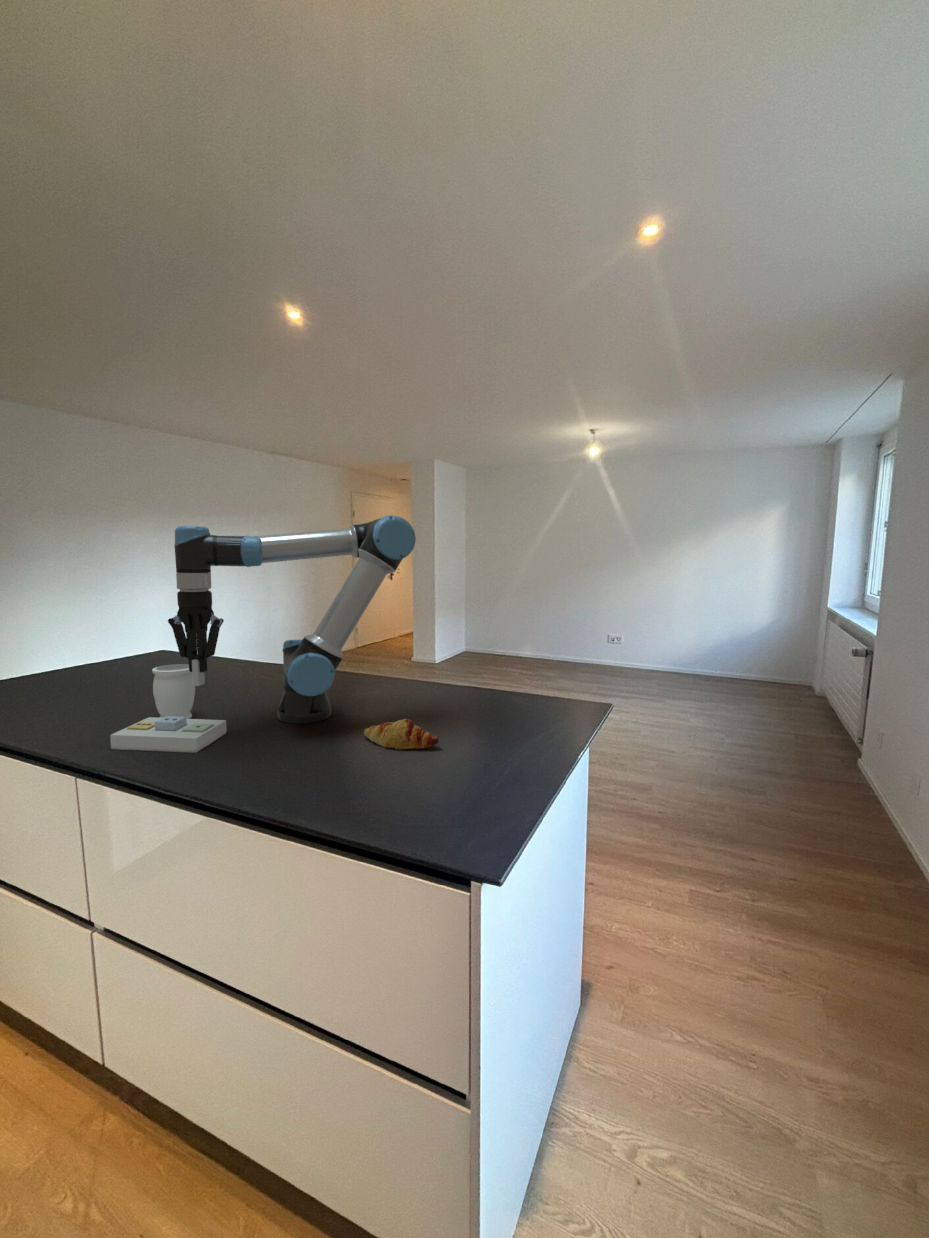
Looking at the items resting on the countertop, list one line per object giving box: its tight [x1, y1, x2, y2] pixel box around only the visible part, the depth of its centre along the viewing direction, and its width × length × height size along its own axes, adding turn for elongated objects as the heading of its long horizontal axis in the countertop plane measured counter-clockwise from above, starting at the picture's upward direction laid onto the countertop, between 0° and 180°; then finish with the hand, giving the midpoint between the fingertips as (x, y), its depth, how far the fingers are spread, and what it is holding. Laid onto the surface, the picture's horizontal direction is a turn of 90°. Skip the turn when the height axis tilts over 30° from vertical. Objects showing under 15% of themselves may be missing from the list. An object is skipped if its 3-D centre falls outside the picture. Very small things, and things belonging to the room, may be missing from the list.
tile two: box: [155, 716, 187, 731], centre depth 129 cm, size 5×5×3 cm
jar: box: [152, 663, 196, 719], centre depth 146 cm, size 11×10×15 cm
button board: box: [109, 716, 227, 754], centre depth 129 cm, size 21×14×4 cm, turn 87°
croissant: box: [363, 718, 439, 750], centre depth 131 cm, size 21×10×8 cm, turn 71°
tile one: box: [183, 723, 213, 732], centre depth 129 cm, size 5×5×3 cm
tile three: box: [126, 720, 155, 730], centre depth 129 cm, size 5×5×3 cm
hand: (198, 684), depth 128 cm, fingers closed
